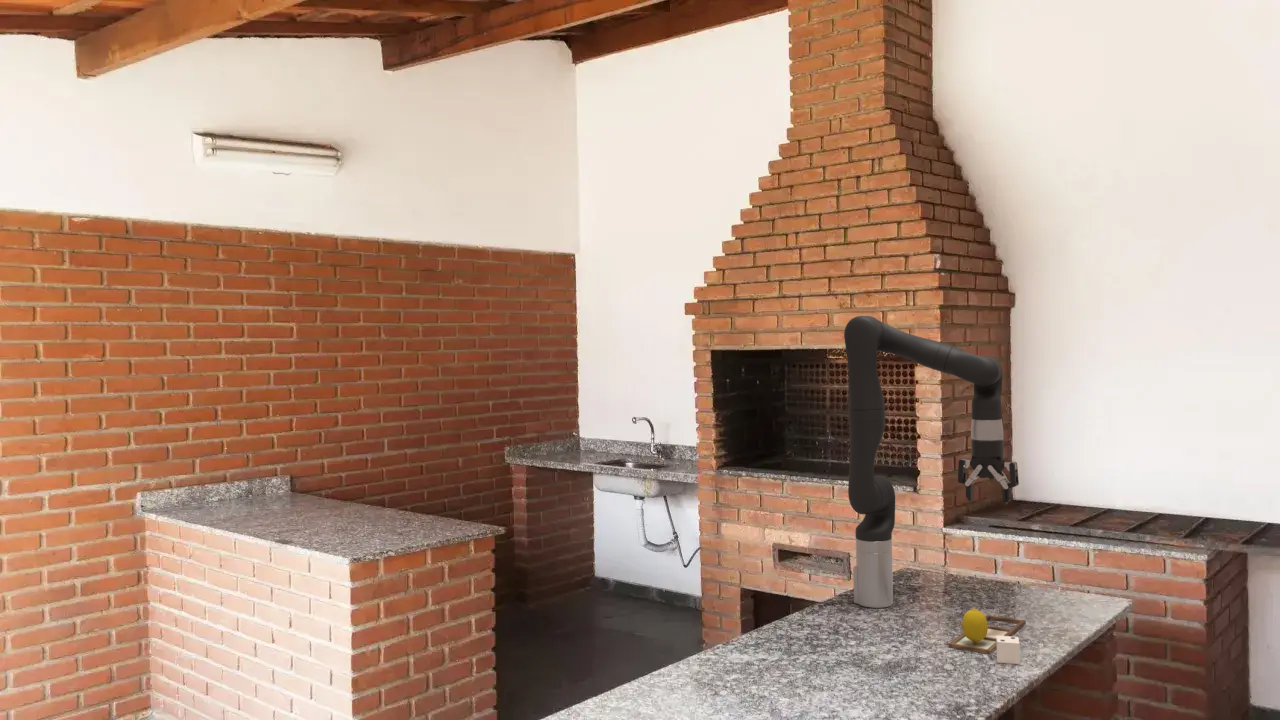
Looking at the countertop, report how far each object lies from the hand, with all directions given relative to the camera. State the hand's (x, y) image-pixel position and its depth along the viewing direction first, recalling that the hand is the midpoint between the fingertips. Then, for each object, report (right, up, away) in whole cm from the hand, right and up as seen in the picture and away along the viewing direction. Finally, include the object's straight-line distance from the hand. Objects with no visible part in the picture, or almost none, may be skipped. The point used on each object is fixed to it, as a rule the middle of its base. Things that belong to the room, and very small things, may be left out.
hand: (988, 502), depth 246 cm
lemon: (-11, -29, -22) cm, 38 cm away
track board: (-5, -29, -15) cm, 33 cm away
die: (-7, -30, -32) cm, 44 cm away
